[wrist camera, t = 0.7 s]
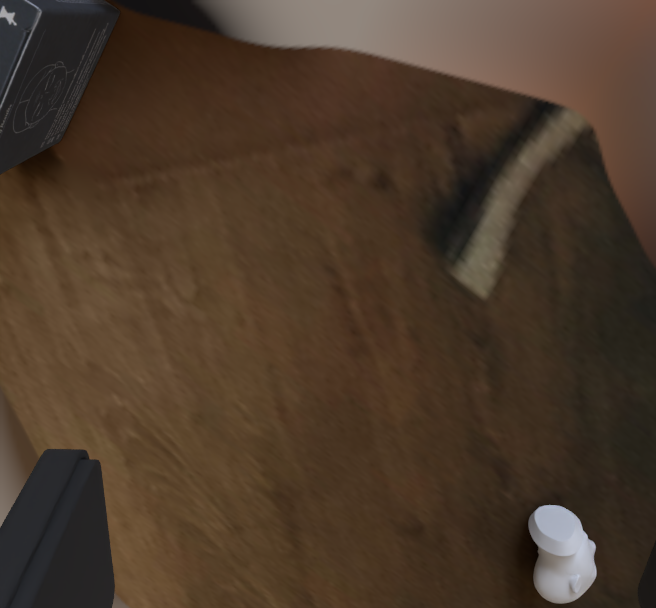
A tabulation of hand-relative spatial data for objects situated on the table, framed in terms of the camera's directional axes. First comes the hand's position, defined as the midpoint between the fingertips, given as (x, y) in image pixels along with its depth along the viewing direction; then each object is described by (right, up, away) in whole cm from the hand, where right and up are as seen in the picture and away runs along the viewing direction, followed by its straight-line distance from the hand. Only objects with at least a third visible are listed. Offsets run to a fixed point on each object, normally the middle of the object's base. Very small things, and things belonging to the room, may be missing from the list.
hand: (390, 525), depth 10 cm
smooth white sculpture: (+16, -14, +38) cm, 43 cm away
